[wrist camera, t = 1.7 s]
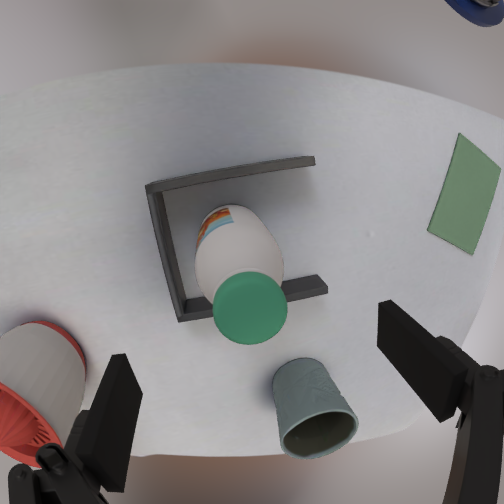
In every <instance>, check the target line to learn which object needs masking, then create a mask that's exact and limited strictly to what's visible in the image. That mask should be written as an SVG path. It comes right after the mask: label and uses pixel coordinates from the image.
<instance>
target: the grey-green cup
mask: <svg viewBox="0 0 504 504" xmlns="http://www.w3.org/2000/svg"><path fill="white" fill-rule="evenodd" d="M272 387H273V393H274V401H275V404H276V408H277V410H276V411H277V417H278V418H277V421H278V427H279V436H280V444H281V448H282V450H283V451H284V452H285V453H286V454H287V455H289V456H291V457H293V458H298V459H313V458H319V457H322V456H325V455H328V454H330V453H332V452H334V451H336V450H338V449H340V448H341V447H343V446H344V445H345V444H347V443H348V442H349V441H350V440H351V439H352V438H353V436H354V435H355V433H356V431H357V429H358V424H359V423H358V418H357V416H356V415H355V414H354V412H353V411H352V409H351V408H350V406H349V405H348V403H347V402H346V400H345V399H344V397H343V396H341V395H340V391H339V389H338V388H337V386H336V385H335V383H334V382H333V380H332V379H331V377H330V375H329V373H328V372H327V370H326V369H325V367H324V366H323V365H322V364H321V363H320V362H318V361H316V360H314V359H310V358H301V359H296V360H293V361H291V362H288V363H287V364H285V365H284V366H282V367H281V368H280V369H279V370H278V371H277V373H276V374H275V376H274V378H273V383H272Z"/></svg>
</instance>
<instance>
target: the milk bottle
mask: <svg viewBox="0 0 504 504" xmlns="http://www.w3.org/2000/svg"><path fill="white" fill-rule="evenodd" d="M195 274H196V279H197V282H198V285H199V287H200V289H201V291H202V293H203V294H204V296H205V297H206V298H207V299H208V300H209V301H210V302H211V303H212V304H213V317H214V321H215V324H216V326H217V328H218V329H219V330H220V332H221V333H222V334H223V335H224V336H225V337H226V338H228V339H229V340H231V341H233V342H236V343H239V344H246V345H251V344H258V343H262V342H264V341H267V340H268V339H270V338H272V337H273V336H274V335H276V334H277V333H278V332H279V331H280V329H281V328H282V326H283V325H284V323H285V320H286V317H287V301H286V298H285V295H284V293H283V291H282V289H281V288H280V287H281V284H282V280H283V275H284V263H283V258H282V254H281V251H280V249H279V247H278V245H277V243H276V241H275V239H274V238H273V236H272V235H271V233H270V232H269V231H268V229H267V228H266V227H265V225H264V224H263V223H262V221H261V220H260V219H259V218H258V217H257V215H256V214H254V213H253V212H252V211H251V210H249V209H248V208H246V207H243V206H240V205H224V206H221V207H218V208H216V209H214V210H213V211H211V212H210V213H209V214H208V215H207V216H206V217H205V219H204V220H203V222H202V224H201V227H200V230H199V234H198V240H197V246H196V253H195Z"/></svg>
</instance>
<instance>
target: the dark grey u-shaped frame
mask: <svg viewBox="0 0 504 504" xmlns="http://www.w3.org/2000/svg"><path fill="white" fill-rule="evenodd" d="M314 165H315V158H314V156H302V157H294V158H286V159H279V160H272V161H265V162H258V163H252V164H246V165H240V166H234V167H228V168H222V169H217V170H211V171H206V172H200V173H195V174H190V175H185V176H180V177H175V178H171V179H166V180H161V181H157V182H152V183H150V184H147V185H145V190H146V195H147V199H148V204H149V209H150V214H151V218H152V223H153V227H154V232H155V236H156V240H157V245H158V249H159V253H160V257H161V261H162V265H163V269H164V273H165V277H166V280H167V284H168V288H169V292H170V295H171V299H172V303H173V306H174V310H175V313H176V317H177V320H178V323H179V322H185V321H191V320H197V319H203V318H208V317H213V304H212V303H211V302H210V301H209V300H208V299H207V298H206V297H199V298H193V299H188V300H186V296H185V292H184V288H183V284H182V280H181V276H180V272H179V268H178V264H177V259H176V255H175V251H174V247H173V242H172V238H171V233H170V229H169V224H168V219H167V215H166V210H165V205H164V200H163V195H162V191H166V190H171V189H176V188H181V187H186V186H191V185H196V184H201V183H206V182H211V181H217V180H222V179H228V178H234V177H240V176H246V175H252V174H258V173H264V172H271V171H278V170H284V169H291V168H299V167H306V166H314ZM280 288H281V289H282V291H283V293H284V295H285V298H286V301H287V302H291V301H296V300H300V299H305V298H309V297H314V296H318V295H323V294H327V293H328V286H327V285H326V284H325V282H324V281H323V280H322V279H321V278H320V277H319V276H318V275H312V276H308V277H303V278H298V279H293V280H288V281H283V282H282V284H281V287H280Z"/></svg>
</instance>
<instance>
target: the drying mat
mask: <svg viewBox="0 0 504 504" xmlns="http://www.w3.org/2000/svg"><path fill="white" fill-rule="evenodd" d="M500 172H501V168H500V167H499V166H498V165H497V164H495V163H494V162H493V161H492V160H491V159H490V158H489V157H488V156H487V155H486V154H484V153H483V152H482V151H481V150H480V149H479V148H478V147H476V146H475V145H474V144H473V143H472V142H470V141H469V140H468V139H467V138H466V137H464V136H463V135H462V134H461V133H459V134H458V138H457V142H456V145H455V149H454V153H453V156H452V159H451V163H450V166H449V169H448V172H447V176H446V179H445V182H444V185H443V188H442V191H441V194H440V196H439V199H438V202H437V205H436V208H435V210H434V213H433V216H432V218H431V221H430V224H429V226H428V229H427V231H429V232H431V233H433V234H435V235H437V236H439V237H441V238H442V239H444V240H446V241H448V242H450V243H452V244H453V245H455V246H457V247H459V248H460V249H462V250H464V251H466V252H467V253H469V254H471V255H473V254H474V251H475V248H476V246H477V243H478V241H479V238H480V235H481V233H482V230H483V227H484V224H485V221H486V218H487V215H488V212H489V209H490V206H491V203H492V200H493V197H494V193H495V190H496V186H497V183H498V179H499V175H500Z"/></svg>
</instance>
